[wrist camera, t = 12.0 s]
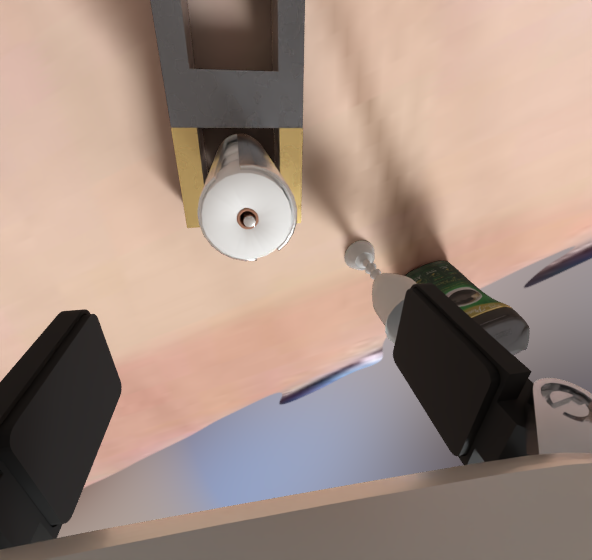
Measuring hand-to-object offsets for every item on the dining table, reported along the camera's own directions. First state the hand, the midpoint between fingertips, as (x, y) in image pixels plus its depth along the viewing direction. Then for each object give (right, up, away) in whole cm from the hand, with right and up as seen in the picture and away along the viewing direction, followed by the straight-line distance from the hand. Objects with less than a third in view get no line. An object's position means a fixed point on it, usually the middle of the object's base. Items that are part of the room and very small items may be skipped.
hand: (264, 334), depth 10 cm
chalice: (+11, +6, +41) cm, 43 cm away
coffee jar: (+24, +2, +46) cm, 52 cm away
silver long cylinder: (-6, +17, +31) cm, 37 cm away
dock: (-6, +23, +28) cm, 37 cm away
